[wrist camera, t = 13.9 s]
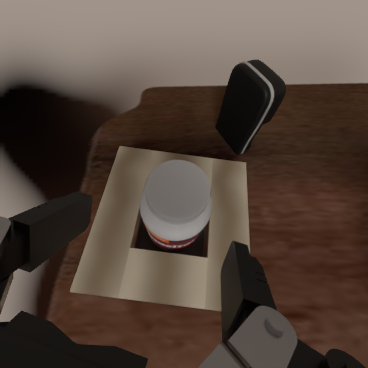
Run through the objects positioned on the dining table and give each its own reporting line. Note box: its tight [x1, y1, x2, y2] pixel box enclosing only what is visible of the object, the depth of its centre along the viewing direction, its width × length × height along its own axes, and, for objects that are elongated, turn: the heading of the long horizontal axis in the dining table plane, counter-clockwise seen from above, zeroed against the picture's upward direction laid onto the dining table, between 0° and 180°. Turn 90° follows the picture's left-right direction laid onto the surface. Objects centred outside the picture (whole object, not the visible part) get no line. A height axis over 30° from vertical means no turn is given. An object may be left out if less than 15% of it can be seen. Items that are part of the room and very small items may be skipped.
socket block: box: [70, 146, 250, 311], centre depth 22 cm, size 16×16×4 cm
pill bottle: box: [140, 160, 212, 252], centre depth 18 cm, size 6×6×11 cm
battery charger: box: [216, 60, 286, 154], centre depth 26 cm, size 7×4×11 cm, turn 28°
